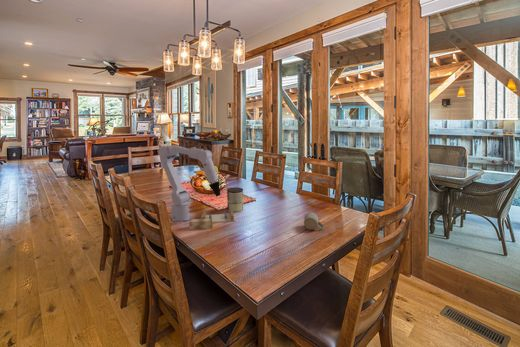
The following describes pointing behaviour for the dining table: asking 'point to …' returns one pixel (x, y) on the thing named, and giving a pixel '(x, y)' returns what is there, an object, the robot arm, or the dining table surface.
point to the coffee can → (235, 199)
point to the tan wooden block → (200, 224)
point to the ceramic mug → (312, 221)
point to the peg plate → (220, 217)
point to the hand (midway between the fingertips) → (218, 195)
